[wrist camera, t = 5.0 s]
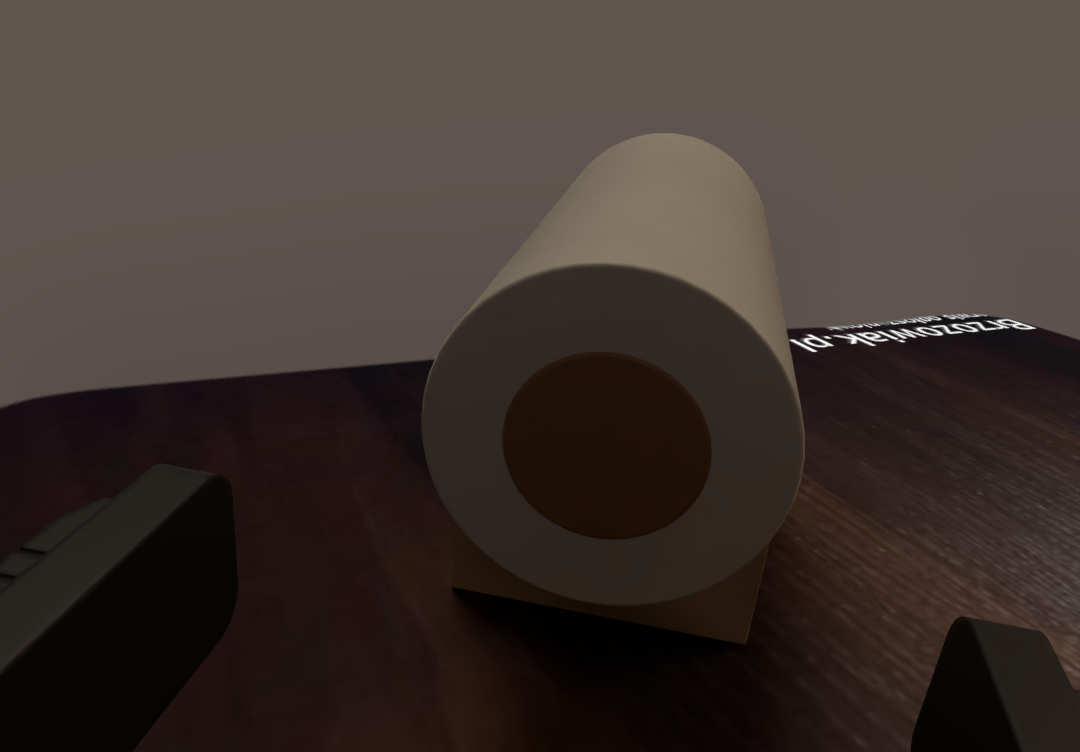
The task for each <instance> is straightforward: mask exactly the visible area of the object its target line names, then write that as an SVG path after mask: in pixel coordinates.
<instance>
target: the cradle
mask: <svg viewBox="0 0 1080 752" xmlns="http://www.w3.org/2000/svg"><path fill="white" fill-rule="evenodd" d="M769 544H770V542H769V543H768V544H767V545H766V546H765V547H764V548H763V549H762V550H761V551H760V552H759V554H758V555H757V556H756V557H755V558H754V559H753V560H751V561H750V562H749V563H748V564H746V565H745V566H744V567H743V568H741V569H740V570H739V571H738V572H736V573H735V574H733V575H732V576H730V577H728V578H727V579H725V580H723V581H722V582H720V583H718V584H717V585H714V586H712V587H710V588H708V589H706V590H703V591H701V592H699V593H697V594H693V595H690V596H687V597H684V598H681V599H678V600H674V601H668V602H663V603H658V604H653V605H640V606H608V605H600V604H593V603H586V602H581V601H577V600H573V599H569V598H565V597H561V596H559V595H556V594H553V593H550V592H548V591H545V590H542V589H540V588H538V587H536V586H534V585H532V584H530V583H528V582H525V581H523V580H521V579H519V578H518V577H516V576H515V575H513V574H512V573H510V572H508V571H507V570H505V569H504V568H502V567H501V566H499V565H498V564H497V563H495V562H494V561H493V560H492V559H490V558H489V557H488V556H487V555H485V554H484V553H483V552H482V551H481V550H480V549H479V548H478V547H477V546H476V545H475V544H474V543H473V542H472V541H471V540H470V539H469V538H468V537H467V536H466V535H465V533H464V532H463V531H462V530H461V528H460V527H459V526H458V525H457V523H456V522H455V538H454V555H453V572H452V587H454V588H459V589H464V590H469V591H474V592H479V593H484V594H489V595H494V596H500V597H505V598H510V599H515V600H520V601H525V602H530V603H535V604H540V605H545V606H550V607H555V608H560V609H565V610H571V611H576V612H581V613H586V614H591V615H596V616H601V617H606V618H611V619H616V620H621V621H626V622H631V623H636V624H642V625H647V626H652V627H657V628H662V629H667V630H672V631H677V632H682V633H687V634H692V635H697V636H702V637H707V638H713V639H718V640H723V641H728V642H733V643H738V644H743V645H745V644H746V642H747V638H748V634H749V629H750V625H751V621H752V617H753V612H754V608H755V604H756V599H757V595H758V591H759V587H760V582H761V578H762V574H763V570H764V565H765V561H766V557H767V552H768V548H769Z"/></svg>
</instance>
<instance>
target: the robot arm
mask: <svg viewBox="0 0 1080 752" xmlns="http://www.w3.org/2000/svg"><path fill="white" fill-rule="evenodd" d="M237 593H238V576H237V560H236V544H235V528H234V512H233V497H232V489H231V486H230V483H229V481H228V480H227V478H226V477H224V476H223V475H219V474H213V473H208V472H203V471H197V470H192V469H187V468H181V467H176V466H171V465H165V464H158V465H155V466H153V467H151V468H150V469H148V470H147V471H146V472H145V473H143V474H142V475H141V476H140V477H138V478H137V479H136V480H135V481H134V482H132V483H131V484H130V485H129V486H127V487H126V488H125V489H124V490H122V491H121V492H120V493H119V494H118V495H116V496H115V497H114V498H113V499H110V498H102V499H100V500H98V501H96V502H93V503H91V504H89V505H86V506H84V507H82V508H80V509H77V510H75V511H73V512H71V513H68V514H66V515H64V516H61V517H59V518H57V519H56V520H54V521H53V522H52V523H50V524H49V525H48V526H47V527H45V528H44V529H43V530H41V531H40V532H39V533H38V534H36V535H35V536H34V537H32V538H31V539H30V540H29V541H27V542H26V543H25V544H23V545H22V546H21V547H20V551H19V553H18V554H17V553H12V554H11V555H9V556H8V557H7V558H5V559H4V560H3V561H1V562H0V752H132V751H133V750H134V748H135V747H136V746H137V744H138V743H139V742H140V741H141V739H142V738H143V737H144V736H145V734H146V733H147V732H148V731H149V729H150V728H151V727H152V725H153V724H154V723H155V722H156V720H157V719H158V718H159V717H160V715H161V714H162V713H163V712H164V710H165V709H166V708H167V707H168V705H169V704H170V703H171V701H172V700H173V699H174V698H175V696H176V695H177V694H178V693H179V691H180V690H181V689H182V688H183V686H184V685H185V684H186V682H187V681H188V680H189V679H190V677H191V676H192V675H193V674H194V672H195V671H196V670H197V669H198V667H199V666H200V665H201V664H202V662H203V661H204V660H205V658H206V657H207V656H208V655H209V653H210V652H211V651H212V650H213V648H214V647H215V646H216V645H217V643H218V642H219V641H220V639H221V638H222V636H223V635H224V633H225V631H226V629H227V627H228V625H229V623H230V620H231V618H232V615H233V612H234V609H235V604H236V600H237ZM911 752H1080V691H1078V690H1073V688H1072V686H1071V684H1070V682H1069V680H1068V678H1067V676H1066V674H1065V672H1064V670H1063V668H1062V666H1061V664H1060V662H1059V660H1058V658H1057V656H1056V654H1055V652H1054V650H1053V648H1052V646H1051V644H1050V642H1049V640H1048V639H1047V637H1046V636H1045V635H1044V634H1043V633H1042V632H1040V631H1037V630H1032V629H1027V628H1021V627H1016V626H1011V625H1005V624H1000V623H995V622H989V621H984V620H979V619H974V618H968V617H963V616H962V617H959V618H957V619H956V620H955V621H954V622H953V624H952V626H951V627H950V629H949V632H948V634H947V637H946V640H945V642H944V645H943V648H942V651H941V654H940V657H939V660H938V662H937V665H936V668H935V671H934V674H933V677H932V680H931V682H930V685H929V688H928V691H927V694H926V697H925V699H924V702H923V705H922V708H921V711H920V714H919V717H918V719H917V722H916V725H915V729H914V733H913V737H912V743H911Z"/></svg>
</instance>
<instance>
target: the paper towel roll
mask: <svg viewBox="0 0 1080 752" xmlns="http://www.w3.org/2000/svg"><path fill="white" fill-rule="evenodd" d="M422 439H423V445H424V450H425V456H426V461H427V464H428V468H429V471H430V474H431V477H432V480H433V483H434V485H435V487H436V489H437V491H438V494H439V496H440V498H441V500H442V502H443V504H444V505H445V507H446V508H447V510H448V512H449V513H450V515H451V516H452V518H453V520H454V521H455V522H456V523H457V525H458V526H459V527H460V528H461V530H462V531H463V532H464V533H465V535H466V536H467V537H468V538H469V539H470V540H471V541H472V542H473V543H474V544H475V545H476V546H477V547H478V548H479V549H480V550H481V551H482V552H483V553H484V554H485V555H487V556H488V557H489V558H490V559H492V560H493V561H494V562H495V563H497V564H498V565H499V566H501V567H502V568H504V569H505V570H507V571H508V572H510V573H512V574H513V575H515V576H516V577H518V578H519V579H521V580H523V581H525V582H528V583H530V584H532V585H534V586H536V587H538V588H540V589H542V590H545V591H548V592H550V593H553V594H556V595H559V596H561V597H565V598H569V599H573V600H577V601H581V602H586V603H593V604H600V605H608V606H640V605H653V604H658V603H663V602H668V601H674V600H678V599H681V598H684V597H687V596H690V595H693V594H697V593H699V592H701V591H703V590H706V589H708V588H710V587H712V586H714V585H717V584H718V583H720V582H722V581H723V580H725V579H727V578H728V577H730V576H732V575H733V574H735V573H736V572H738V571H739V570H740V569H741V568H743V567H744V566H745V565H746V564H748V563H749V562H750V561H751V560H753V559H754V558H755V557H756V556H757V555H758V554H759V552H760V551H761V550H762V549H763V548H764V547H765V546H766V545H767V544H768V543H769V542H770V541H771V539H772V538H773V536H774V535H775V534H776V532H777V531H778V529H779V528H780V526H781V525H782V524H783V522H784V520H785V518H786V516H787V514H788V512H789V510H790V508H791V506H792V504H793V502H794V500H795V496H796V493H797V490H798V487H799V484H800V481H801V476H802V470H803V464H804V458H805V432H804V425H803V418H802V411H801V405H800V400H799V395H798V389H797V384H796V378H795V373H794V368H793V362H792V357H791V352H790V346H789V341H788V335H787V330H786V325H785V319H784V314H783V309H782V303H781V298H780V293H779V287H778V282H777V276H776V271H775V265H774V261H773V255H772V250H771V245H770V239H769V233H768V228H767V222H766V217H765V212H764V208H763V205H762V202H761V199H760V197H759V194H758V192H757V190H756V188H755V186H754V185H753V183H752V181H751V179H750V178H749V177H748V175H747V174H746V172H745V171H744V170H743V169H742V168H741V166H740V165H739V164H737V162H735V161H734V160H733V159H732V158H731V157H730V156H729V155H727V154H726V153H724V152H723V151H721V150H720V149H719V148H717V147H715V146H713V145H711V144H709V143H707V142H705V141H702V140H700V139H696V138H693V137H690V136H685V135H680V134H669V133H659V134H647V135H643V136H638V137H634V138H631V139H629V140H626V141H623V142H621V143H619V144H617V145H615V146H613V147H611V148H609V149H608V150H606V151H605V152H603V153H602V154H600V155H599V156H598V157H597V158H596V159H594V160H593V161H592V162H591V163H590V164H589V165H588V166H587V167H586V168H585V169H584V171H583V172H582V173H581V174H580V175H579V177H578V178H577V179H576V180H575V182H574V183H573V184H572V185H571V186H570V188H569V189H568V190H567V191H566V192H565V194H564V195H563V196H562V197H561V199H560V200H559V201H558V202H557V203H556V205H555V206H554V207H553V208H552V209H551V211H550V212H549V213H548V214H547V215H546V217H545V218H544V219H543V221H542V222H541V223H540V224H539V225H538V226H537V228H536V229H535V230H534V231H533V232H532V234H531V235H530V236H529V237H528V239H527V240H526V241H525V242H524V244H523V245H522V246H521V247H520V248H519V250H518V251H517V252H516V253H515V254H514V256H513V257H512V258H511V259H510V260H509V262H508V263H507V264H506V266H504V268H503V269H502V270H501V272H500V273H499V274H498V275H497V276H496V277H495V279H494V280H493V281H492V282H491V283H490V285H489V286H488V287H487V288H486V290H485V291H484V292H483V293H482V294H481V296H480V297H479V298H478V299H477V300H476V302H475V303H474V304H473V305H472V307H471V308H470V309H469V310H468V312H467V313H466V314H465V315H464V316H463V317H462V319H461V320H460V321H459V322H458V324H457V325H456V326H455V327H454V329H453V330H452V331H451V332H450V333H449V335H448V337H447V338H446V340H445V342H444V343H443V345H442V347H441V348H440V350H439V352H438V354H437V356H436V358H435V361H434V363H433V365H432V368H431V370H430V372H429V376H428V380H427V384H426V388H425V391H424V397H423V406H422Z"/></svg>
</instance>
